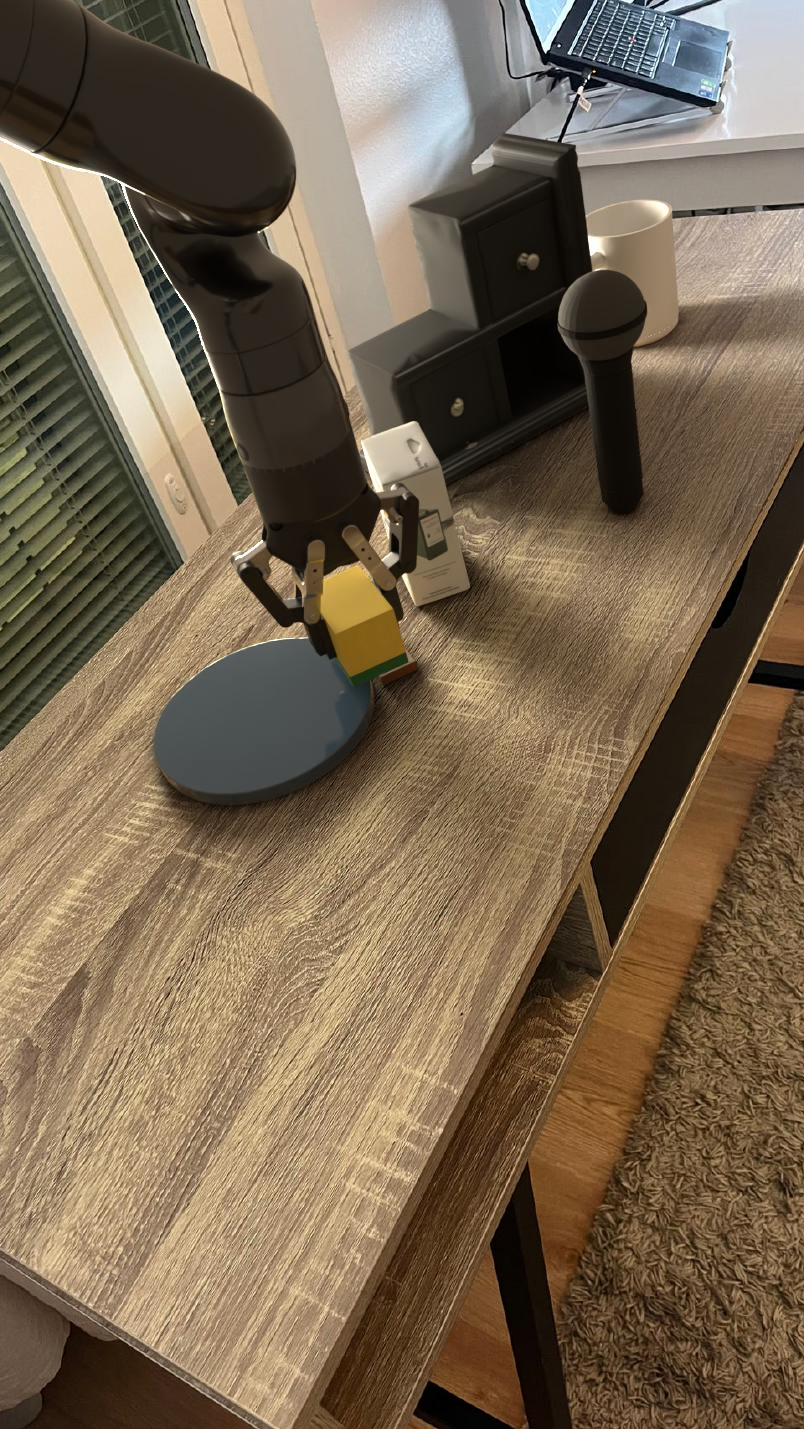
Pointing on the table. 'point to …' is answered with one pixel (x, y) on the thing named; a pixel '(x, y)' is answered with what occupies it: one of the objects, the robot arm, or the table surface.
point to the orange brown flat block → (399, 670)
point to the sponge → (361, 626)
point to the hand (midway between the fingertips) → (360, 638)
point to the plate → (261, 724)
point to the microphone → (609, 376)
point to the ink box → (420, 509)
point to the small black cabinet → (486, 311)
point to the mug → (639, 256)
